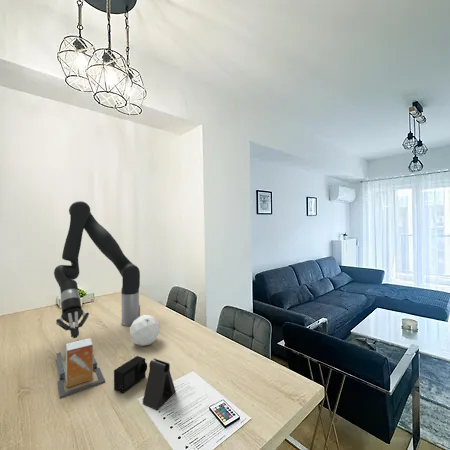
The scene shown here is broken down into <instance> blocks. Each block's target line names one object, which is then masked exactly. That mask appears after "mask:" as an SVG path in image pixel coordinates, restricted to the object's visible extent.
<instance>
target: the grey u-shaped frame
mask: <svg viewBox="0 0 450 450" xmlns="http://www.w3.org/2000/svg"><path fill="white" fill-rule="evenodd" d="M63 361H64V360H63V356H62V352H57V353H56V363H57V371H58V377H59V380H62V379H63V381H64V380H65V381H66V370H65V367H64V362H63ZM97 368H98V361H97V360H96V358H95V355H94V354H93V371H95V369H97Z"/></svg>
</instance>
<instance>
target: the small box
mask: <svg viewBox="0 0 450 450" xmlns="http://www.w3.org/2000/svg"><path fill="white" fill-rule="evenodd" d="M93 345H94V344H93V342H92V338H90V337H89V338H85V339H80V340H77V341H71V342H69V343H65V381H66V382H65V383H66V388H70V387H73V386H76V385H79V384H83V383H85V382H89V381H92V380H93V379H94V377H93V376H94V370H93V355H94V354H93V353H94V349H93V347H94V346H93Z"/></svg>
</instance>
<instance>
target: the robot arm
mask: <svg viewBox="0 0 450 450" xmlns="http://www.w3.org/2000/svg"><path fill="white" fill-rule="evenodd" d="M68 213H69V215H70V219H69V221H70V222H69V228H68V231H67V236H66V238H65V243H64V245H63V249H62V250H63V251H62V254H61V255H62V257H61V258H62V260H64V261H68V262H70V265H69V264H61V265H60V264H59V265H57V266H55V268H54V271H53V275H54V278H55V280H56V282H57V284H58V286H59V290H60V305H61V316H60V317H59V318H56V321H55V324H56V325H57V326H59V328H61V329H63V330H65V332H66V331H70V337H71V338H72V339H76V338H78V337H79V335H80V330H79V329H80V328H82V327H83V326H84V324H85V323H86V321H87V319H89V315H90V313H89V312H85V311H84V310H83V307H82V303H81V296H80V291H79V288H78V286H79V285H78V283H77V281H76V279H77V278H79V276H80V265H79V257H80V251H81V250H80V249H81V245H82V239H83V234H84V230H85V232H86V234H87V235H88V237H89V239H90V240H91V241H92V242H93V244H94V245H95V246H96V248H98V250H99V251H100V253H102V254H103V255H104V256H105V257H106V258H107V259H108V260H109V261H111V263H112V264H113V265H114V266H115V268H116V269H117V271H118V273H119V274H120V276H121V277H122V282H121V284H122V287H121V291H120V293H121V325H122V326H124V327H125V326H126V327H128V326H129V327H131V325H132V323H133V321H134V320H136V319H137V318H139V317H140V316H141V305H140V286H141V271H140V269H139V267H138V266H137V265H136V264H134V263H133V262H132V261H130V259H129V258H128V257H127V256H126V255H125V254H124V252H123V250H122V248H121V247H120V245H119V243H118V242H117V240H116V239H115V237H114V236H112V234H111V233H110V232H109V231H108V230H107V229H106V228H105V227H104V226H102V225H101V224H100V223H99V222H98V221H97V219H96V218H95V216H94V215H93V214H92V212H91V207H90V206H89V204H88V203H87V202H85V201H82V200H78V201H74V202H73V203H71V204H70V206H69V208H68ZM81 317H82V319H81ZM80 319H81V321H80ZM79 321H80V322H79Z"/></svg>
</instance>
